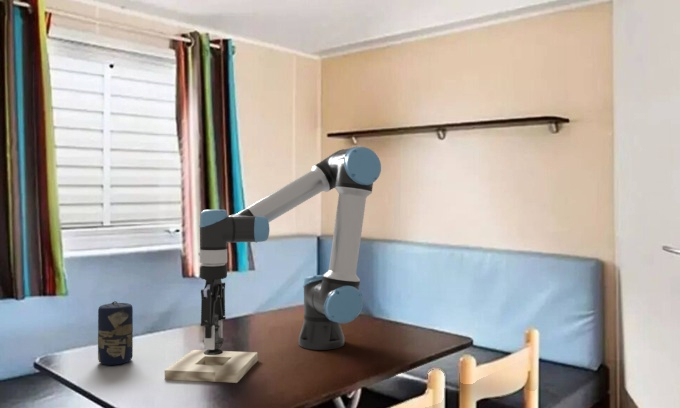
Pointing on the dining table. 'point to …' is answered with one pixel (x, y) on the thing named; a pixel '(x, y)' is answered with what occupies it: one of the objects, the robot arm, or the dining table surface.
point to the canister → (115, 333)
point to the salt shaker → (216, 339)
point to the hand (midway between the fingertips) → (213, 345)
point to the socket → (212, 366)
